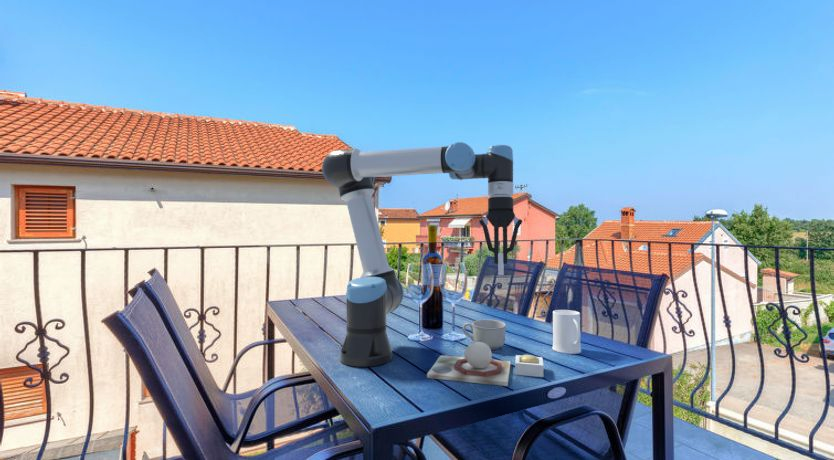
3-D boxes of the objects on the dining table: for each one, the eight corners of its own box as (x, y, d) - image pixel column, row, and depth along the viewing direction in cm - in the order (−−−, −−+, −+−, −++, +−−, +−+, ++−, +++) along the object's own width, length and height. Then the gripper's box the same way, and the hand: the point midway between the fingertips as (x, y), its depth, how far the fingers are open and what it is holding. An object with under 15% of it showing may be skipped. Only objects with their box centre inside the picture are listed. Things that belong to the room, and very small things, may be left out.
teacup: (509, 345, 127) (508, 320, 127) (501, 354, 117) (501, 327, 117) (468, 340, 133) (468, 317, 133) (458, 348, 123) (458, 323, 123)
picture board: (426, 377, 97) (426, 370, 98) (440, 358, 113) (440, 352, 113) (507, 386, 92) (507, 378, 92) (510, 364, 107) (510, 358, 107)
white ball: (467, 362, 106) (467, 337, 107) (494, 365, 104) (493, 340, 104) (461, 369, 100) (461, 344, 100) (489, 373, 97) (489, 347, 98)
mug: (591, 357, 114) (591, 316, 114) (563, 357, 114) (563, 317, 114) (573, 346, 126) (573, 309, 126) (548, 346, 126) (547, 309, 126)
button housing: (515, 374, 100) (515, 363, 100) (515, 365, 106) (515, 355, 106) (543, 377, 98) (543, 365, 98) (542, 368, 104) (542, 357, 105)
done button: (521, 364, 101) (521, 358, 101) (521, 360, 105) (521, 354, 105) (537, 366, 100) (537, 360, 100) (536, 361, 103) (536, 355, 104)
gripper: (477, 196, 115) (477, 275, 114) (522, 195, 111) (523, 276, 111) (480, 198, 122) (480, 273, 122) (522, 197, 119) (523, 274, 118)
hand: (501, 274), depth 116 cm, fingers closed
